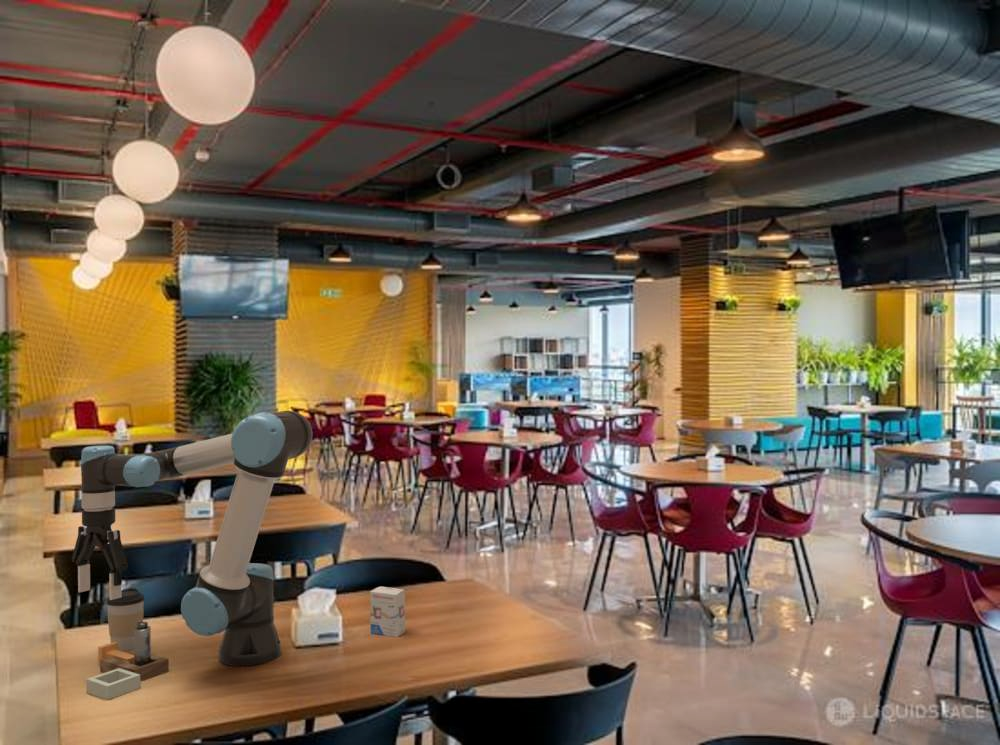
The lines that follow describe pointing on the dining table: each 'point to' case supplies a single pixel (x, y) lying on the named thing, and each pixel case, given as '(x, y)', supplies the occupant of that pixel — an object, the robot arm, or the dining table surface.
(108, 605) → the coffee cup
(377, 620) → the ink box
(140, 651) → the dark grey cylinder
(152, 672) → the socket block
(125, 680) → the square frame
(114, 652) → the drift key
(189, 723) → the dining table surface
